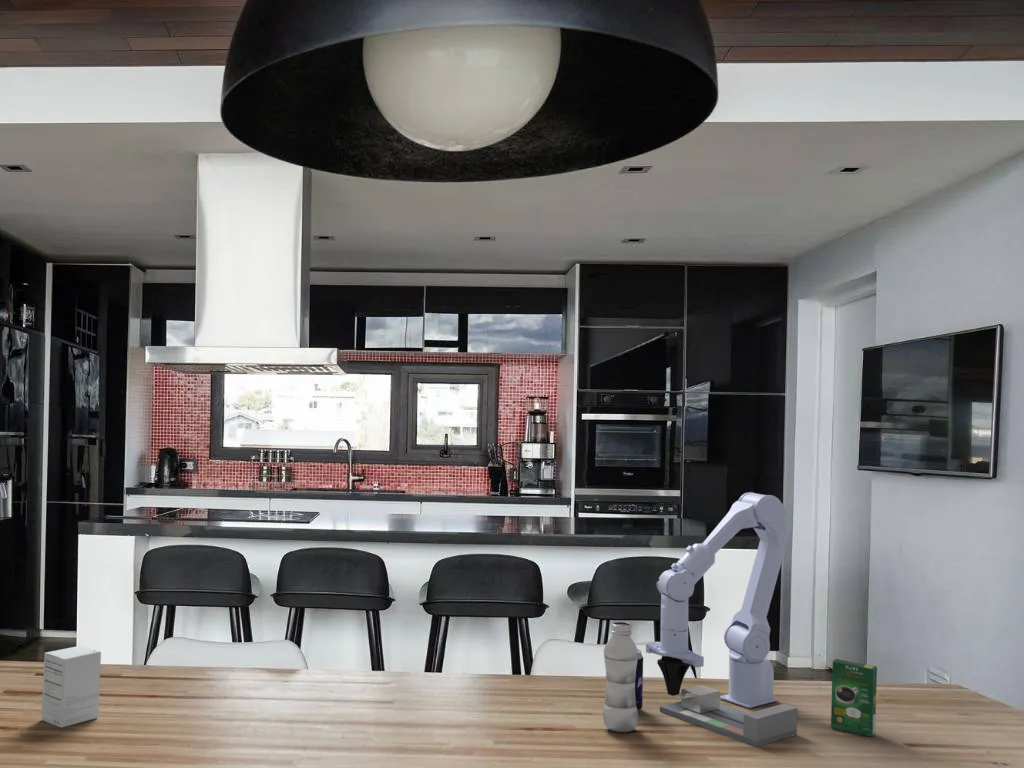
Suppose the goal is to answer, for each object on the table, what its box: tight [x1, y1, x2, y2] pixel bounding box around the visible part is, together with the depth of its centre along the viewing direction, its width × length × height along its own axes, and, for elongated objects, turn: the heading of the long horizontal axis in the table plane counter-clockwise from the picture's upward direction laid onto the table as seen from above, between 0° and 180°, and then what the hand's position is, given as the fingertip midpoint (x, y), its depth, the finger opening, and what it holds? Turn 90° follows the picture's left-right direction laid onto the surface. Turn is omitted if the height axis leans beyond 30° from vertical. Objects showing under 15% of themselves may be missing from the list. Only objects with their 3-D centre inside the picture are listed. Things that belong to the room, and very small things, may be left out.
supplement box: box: [41, 645, 102, 729], centre depth 166 cm, size 7×7×13 cm
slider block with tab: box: [676, 684, 721, 713], centre depth 177 cm, size 10×5×4 cm, turn 127°
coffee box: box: [830, 658, 878, 738], centre depth 170 cm, size 8×3×13 cm, turn 54°
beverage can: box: [635, 648, 644, 713], centre depth 180 cm, size 6×6×12 cm
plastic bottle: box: [602, 621, 639, 733], centre depth 168 cm, size 6×7×20 cm
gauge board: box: [659, 701, 798, 748], centre depth 173 cm, size 12×24×5 cm, turn 37°
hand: (673, 694), depth 184 cm, fingers closed
